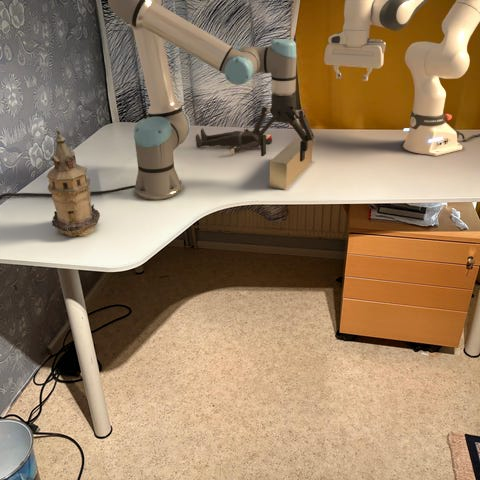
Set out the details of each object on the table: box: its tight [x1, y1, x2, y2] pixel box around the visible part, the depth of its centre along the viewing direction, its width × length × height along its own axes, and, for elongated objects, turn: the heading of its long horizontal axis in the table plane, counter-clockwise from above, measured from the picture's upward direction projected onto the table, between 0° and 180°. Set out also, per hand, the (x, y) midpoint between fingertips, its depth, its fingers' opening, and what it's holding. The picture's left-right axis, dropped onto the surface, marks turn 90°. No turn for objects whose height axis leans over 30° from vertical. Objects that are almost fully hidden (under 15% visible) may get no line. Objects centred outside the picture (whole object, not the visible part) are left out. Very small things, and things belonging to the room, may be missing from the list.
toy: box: [195, 127, 273, 155], centre depth 214 cm, size 26×6×30 cm
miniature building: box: [46, 129, 101, 237], centre depth 148 cm, size 13×14×30 cm
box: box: [269, 135, 314, 191], centre depth 187 cm, size 27×6×9 cm, turn 155°
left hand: (282, 157), depth 176 cm, fingers open, 13 cm apart
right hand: (351, 79), depth 188 cm, fingers open, 8 cm apart
